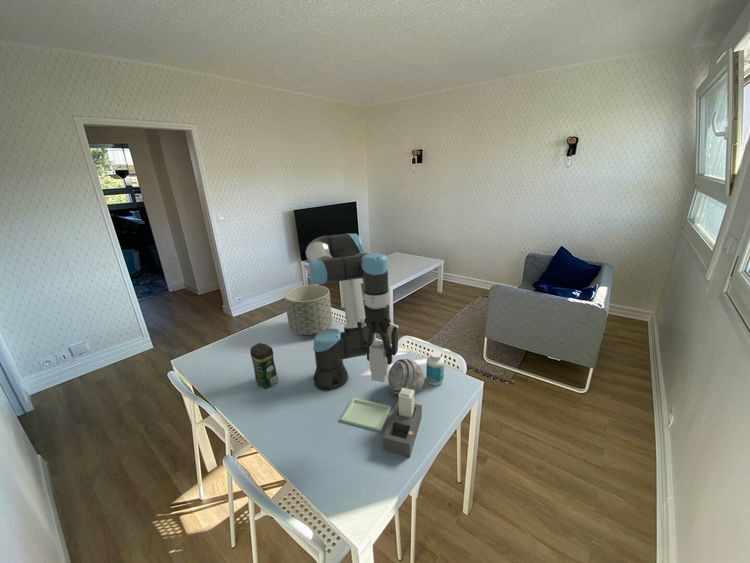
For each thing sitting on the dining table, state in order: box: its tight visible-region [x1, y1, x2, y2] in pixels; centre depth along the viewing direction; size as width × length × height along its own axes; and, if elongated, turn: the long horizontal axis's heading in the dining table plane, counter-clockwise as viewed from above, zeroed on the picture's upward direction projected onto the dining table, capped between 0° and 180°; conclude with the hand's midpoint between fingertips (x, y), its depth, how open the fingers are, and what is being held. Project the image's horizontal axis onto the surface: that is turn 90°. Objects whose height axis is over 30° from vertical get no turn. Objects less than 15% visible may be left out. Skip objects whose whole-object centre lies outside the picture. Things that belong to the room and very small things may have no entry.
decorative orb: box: [387, 358, 425, 396], centre depth 125 cm, size 15×14×15 cm
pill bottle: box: [425, 350, 445, 386], centre depth 132 cm, size 8×7×14 cm
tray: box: [340, 397, 392, 433], centre depth 116 cm, size 16×12×2 cm
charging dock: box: [382, 388, 423, 458], centre depth 105 cm, size 9×18×15 cm, turn 160°
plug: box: [369, 340, 389, 383], centre depth 99 cm, size 4×4×13 cm
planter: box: [284, 284, 333, 336], centre depth 178 cm, size 25×25×24 cm
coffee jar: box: [249, 342, 279, 389], centre depth 134 cm, size 10×8×19 cm
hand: (380, 370), depth 101 cm, fingers closed on plug, 4 cm apart
